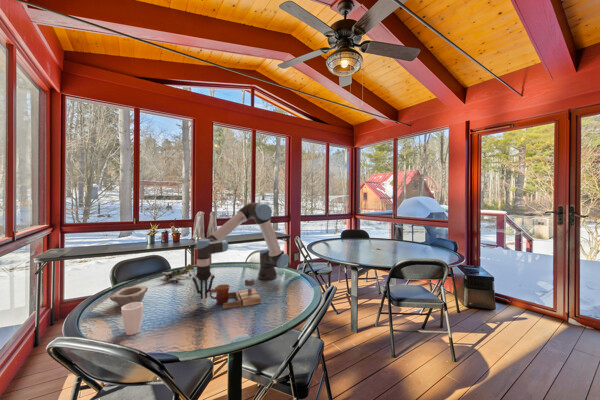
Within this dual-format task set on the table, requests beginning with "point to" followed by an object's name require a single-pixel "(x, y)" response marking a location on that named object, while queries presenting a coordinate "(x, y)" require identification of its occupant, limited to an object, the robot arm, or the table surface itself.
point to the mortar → (129, 295)
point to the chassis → (243, 298)
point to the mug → (221, 294)
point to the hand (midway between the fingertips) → (203, 303)
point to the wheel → (249, 282)
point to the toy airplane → (178, 273)
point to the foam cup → (132, 317)
